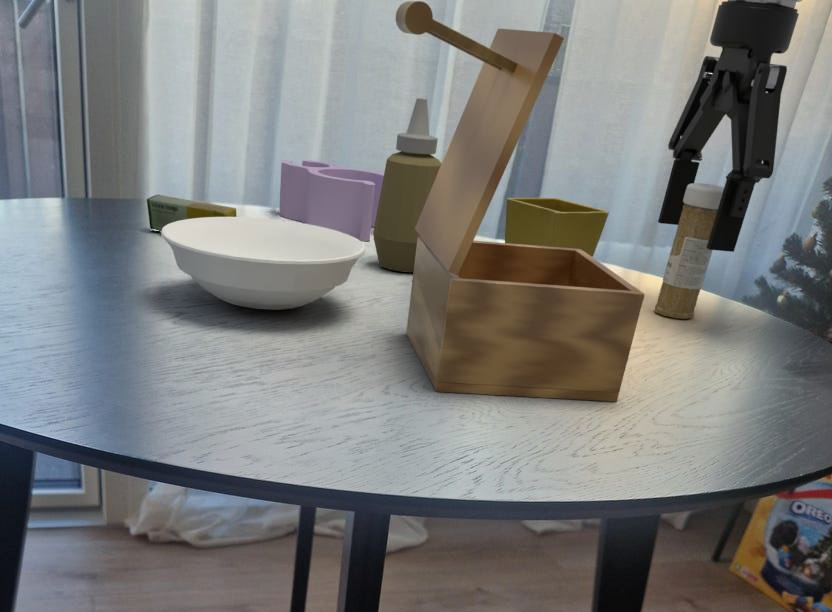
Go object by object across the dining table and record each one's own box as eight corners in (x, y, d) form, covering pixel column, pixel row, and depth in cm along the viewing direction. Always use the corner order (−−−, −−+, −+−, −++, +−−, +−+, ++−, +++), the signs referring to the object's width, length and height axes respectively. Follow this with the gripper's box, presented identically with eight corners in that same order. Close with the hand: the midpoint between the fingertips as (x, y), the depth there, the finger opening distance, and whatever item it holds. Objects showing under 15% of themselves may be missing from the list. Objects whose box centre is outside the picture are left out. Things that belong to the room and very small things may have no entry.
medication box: (148, 232, 117) (144, 197, 115) (161, 227, 119) (157, 193, 117) (227, 246, 113) (225, 211, 111) (239, 241, 115) (238, 206, 112)
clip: (258, 213, 135) (260, 160, 131) (322, 209, 142) (325, 159, 138) (352, 242, 123) (357, 185, 119) (416, 236, 131) (422, 182, 127)
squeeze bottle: (381, 257, 117) (398, 93, 107) (442, 267, 115) (465, 102, 105) (360, 268, 111) (376, 95, 101) (425, 279, 109) (447, 104, 99)
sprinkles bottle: (653, 307, 108) (687, 180, 101) (693, 313, 107) (730, 186, 100) (653, 316, 104) (688, 185, 97) (694, 322, 103) (732, 191, 96)
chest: (560, 343, 91) (581, 248, 86) (617, 402, 78) (645, 294, 73) (405, 333, 89) (417, 235, 84) (435, 391, 76) (452, 279, 71)
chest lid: (506, 32, 76) (399, -25, 73) (564, 37, 62) (435, -32, 60) (422, 232, 84) (322, 188, 81) (457, 275, 71) (339, 224, 68)
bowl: (318, 279, 104) (322, 218, 101) (391, 330, 89) (399, 261, 86) (142, 279, 97) (140, 213, 93) (190, 335, 82) (190, 260, 79)
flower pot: (541, 273, 118) (556, 196, 113) (592, 290, 112) (611, 210, 107) (491, 277, 113) (505, 197, 108) (543, 295, 108) (559, 212, 103)
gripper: (674, -3, 99) (622, 211, 111) (787, -3, 79) (708, 259, 91) (739, 5, 100) (681, 217, 112) (867, 8, 80) (779, 265, 92)
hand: (693, 236), depth 101 cm, fingers open, 13 cm apart
